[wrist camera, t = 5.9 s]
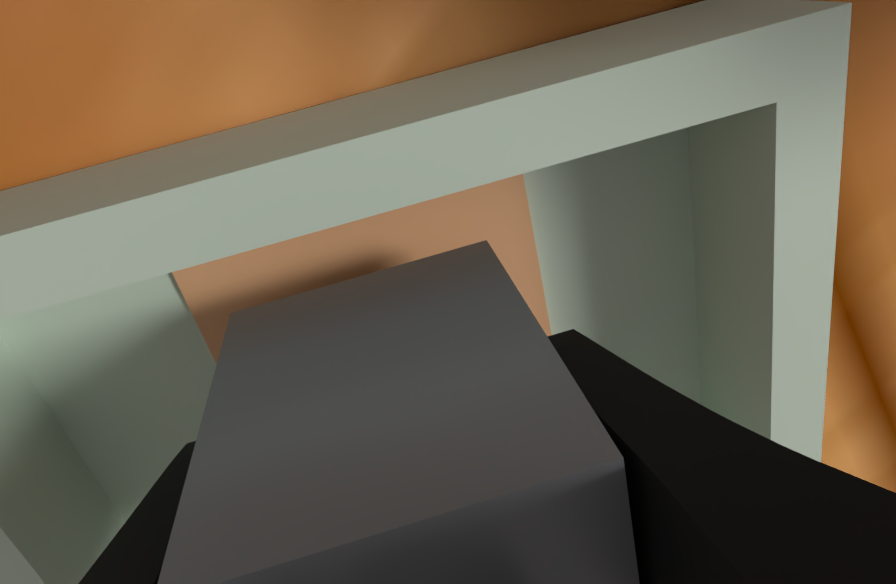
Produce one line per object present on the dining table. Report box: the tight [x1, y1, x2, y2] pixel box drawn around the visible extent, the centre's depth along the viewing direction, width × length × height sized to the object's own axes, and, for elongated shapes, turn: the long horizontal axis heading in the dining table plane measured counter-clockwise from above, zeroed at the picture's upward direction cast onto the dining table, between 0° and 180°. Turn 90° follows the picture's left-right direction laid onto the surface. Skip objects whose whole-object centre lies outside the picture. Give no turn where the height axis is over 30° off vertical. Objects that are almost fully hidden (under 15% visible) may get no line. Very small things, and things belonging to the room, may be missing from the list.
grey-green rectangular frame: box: [0, 0, 852, 584], centre depth 12 cm, size 11×14×3 cm
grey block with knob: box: [157, 240, 640, 584], centre depth 8 cm, size 4×4×6 cm
